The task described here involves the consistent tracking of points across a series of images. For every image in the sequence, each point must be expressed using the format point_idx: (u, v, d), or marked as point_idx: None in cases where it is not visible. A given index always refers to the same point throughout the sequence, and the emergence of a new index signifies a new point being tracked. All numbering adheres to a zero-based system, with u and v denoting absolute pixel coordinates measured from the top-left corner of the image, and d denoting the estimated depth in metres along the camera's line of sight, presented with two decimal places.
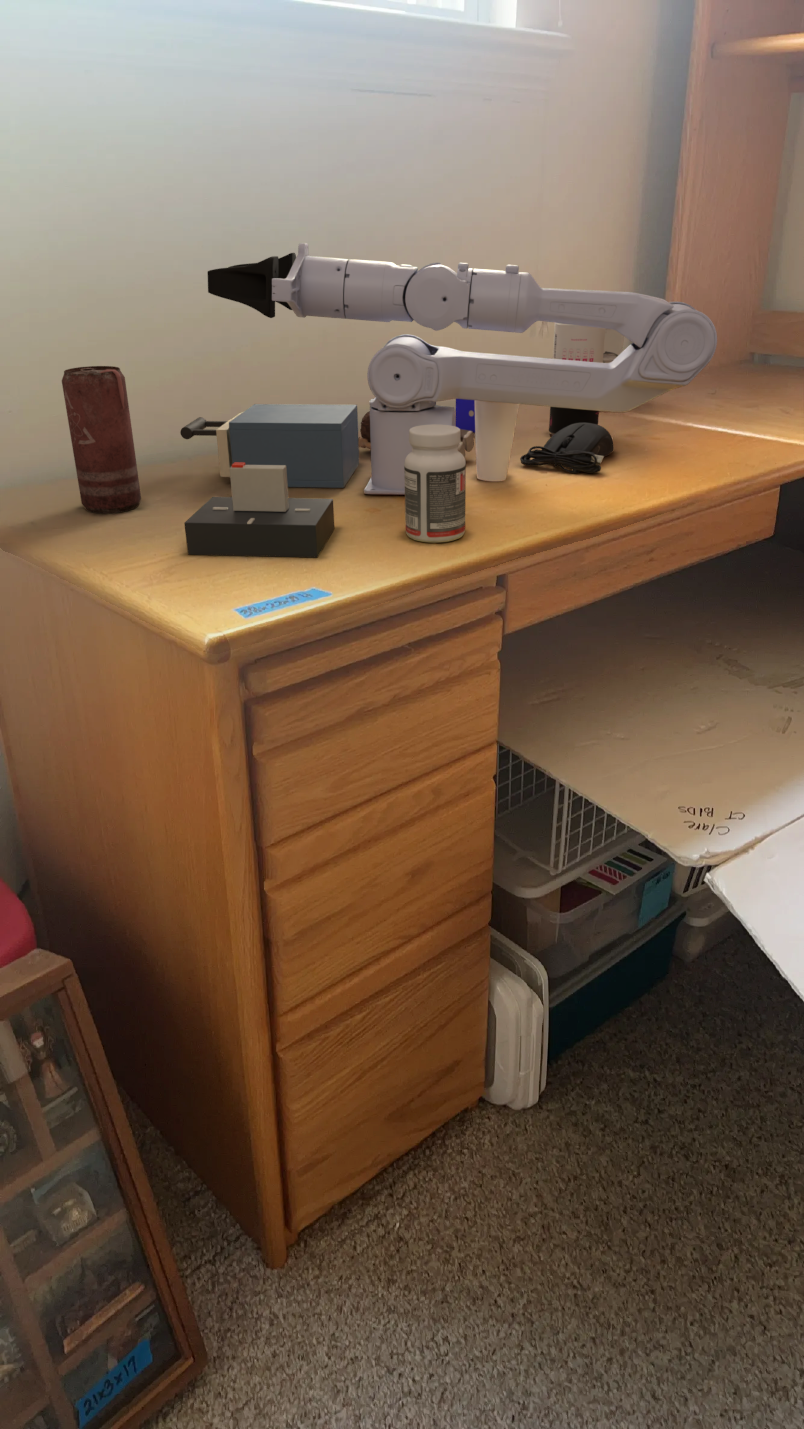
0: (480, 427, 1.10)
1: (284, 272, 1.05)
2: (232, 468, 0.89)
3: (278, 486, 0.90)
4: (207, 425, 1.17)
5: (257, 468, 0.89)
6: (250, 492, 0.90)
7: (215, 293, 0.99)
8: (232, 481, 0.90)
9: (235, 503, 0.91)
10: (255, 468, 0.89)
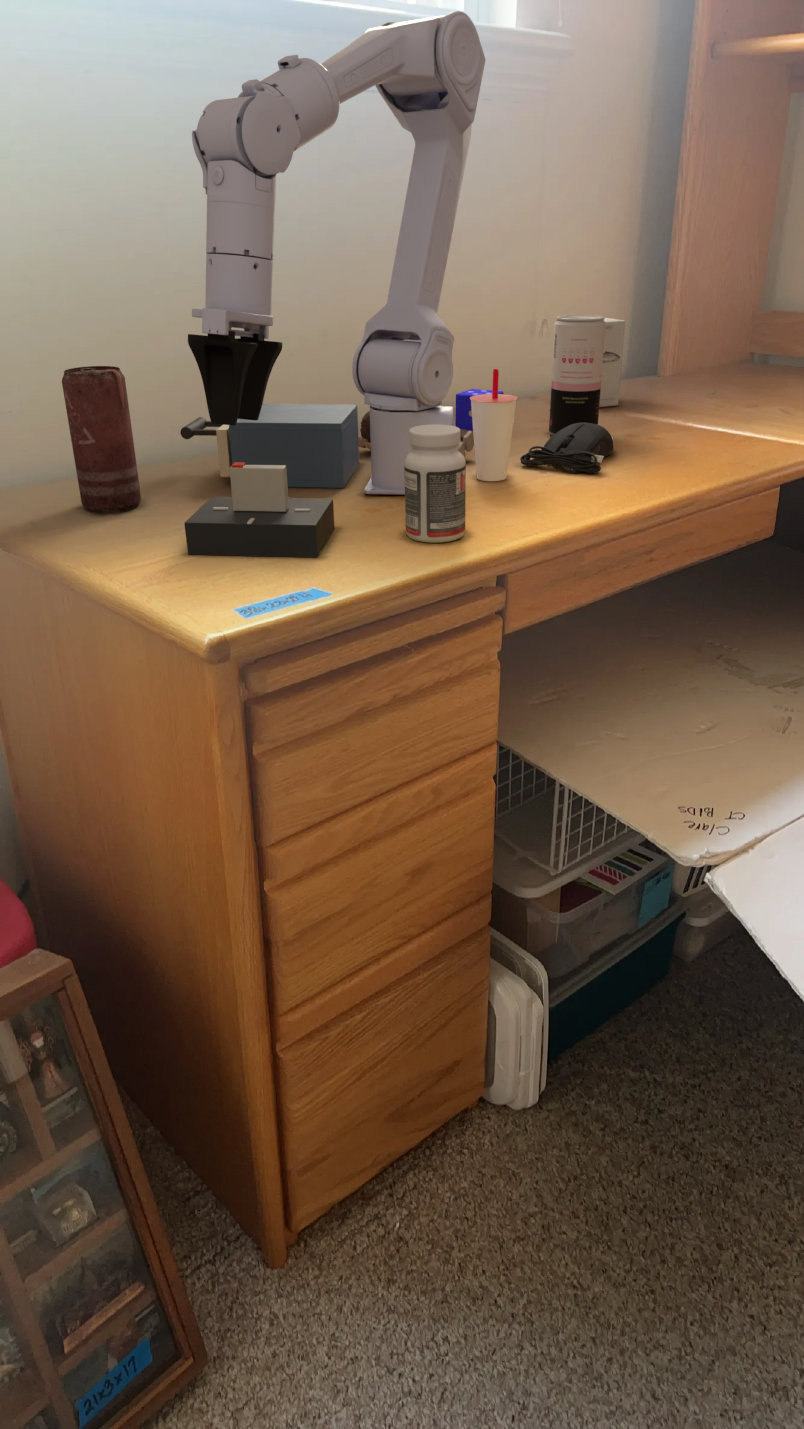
0: (478, 428, 1.10)
1: None
2: (232, 468, 0.89)
3: (278, 486, 0.90)
4: (207, 425, 1.17)
5: (257, 468, 0.89)
6: (250, 492, 0.90)
7: (233, 416, 0.85)
8: (232, 481, 0.90)
9: (235, 503, 0.91)
10: (255, 468, 0.89)
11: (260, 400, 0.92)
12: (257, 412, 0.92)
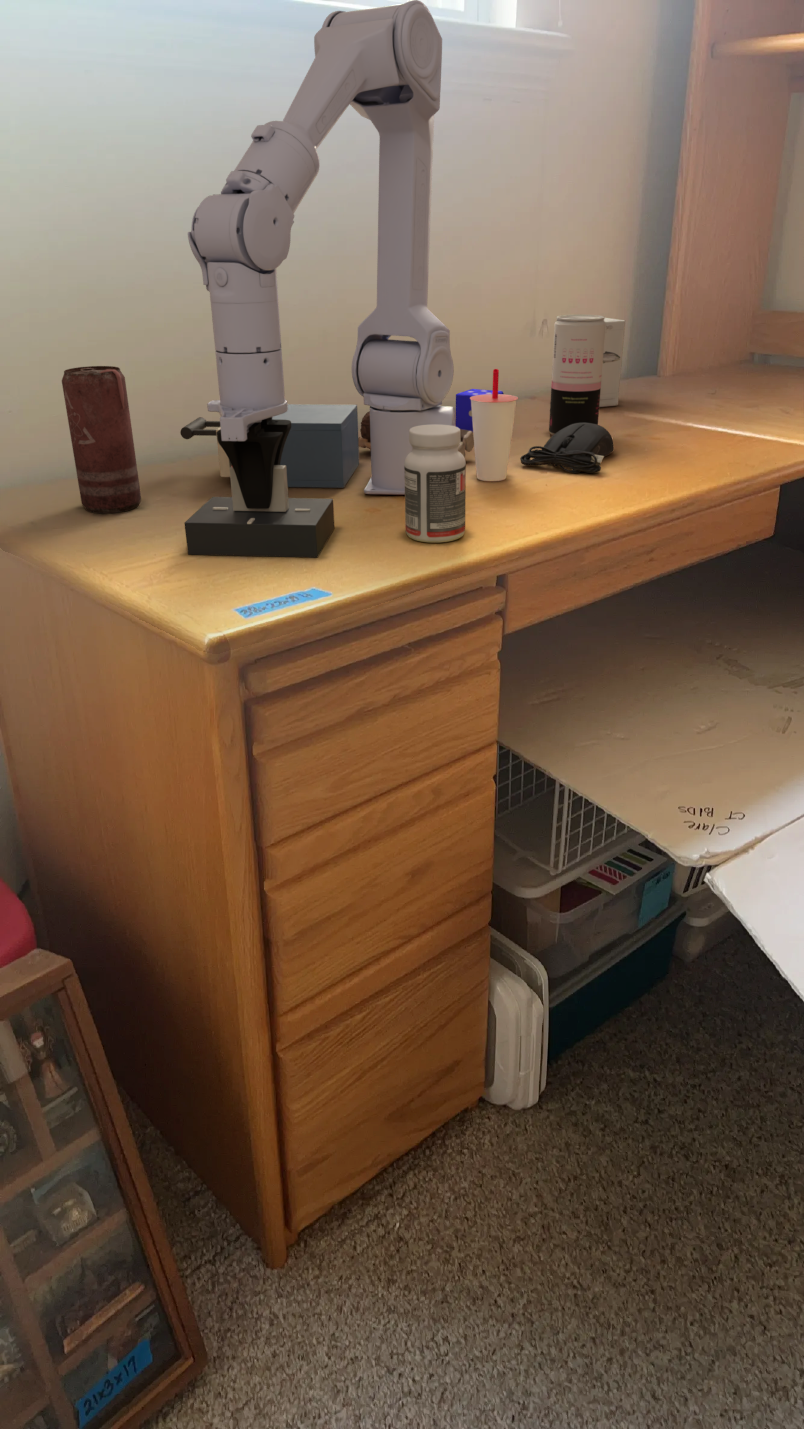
0: (478, 428, 1.10)
1: None
2: (232, 468, 0.89)
3: (278, 486, 0.90)
4: (207, 425, 1.17)
5: None
6: None
7: (267, 500, 0.90)
8: (232, 481, 0.90)
9: (235, 503, 0.91)
10: None
11: None
12: None
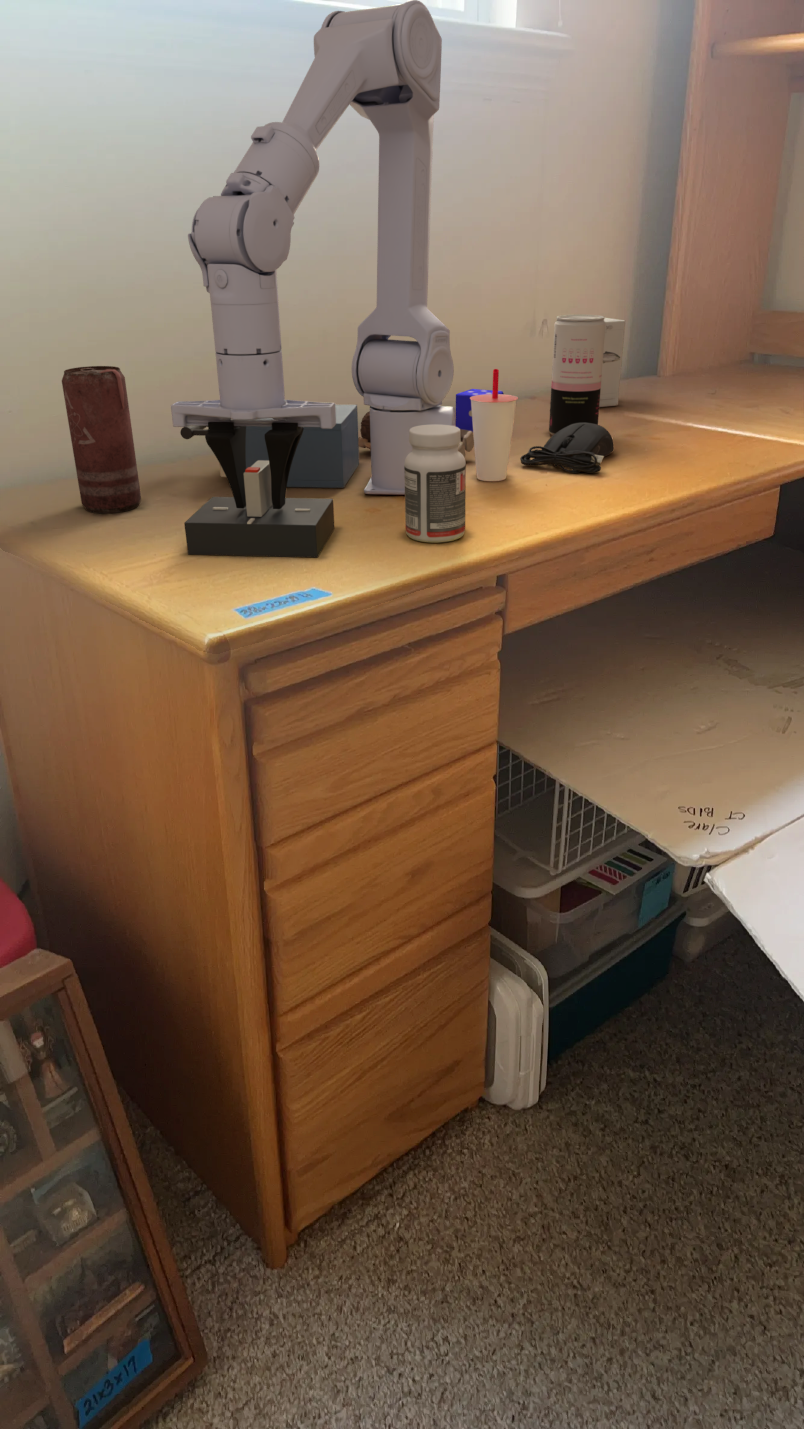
0: (478, 428, 1.10)
1: (236, 441, 0.88)
2: (258, 473, 0.88)
3: None
4: None
5: (264, 466, 0.90)
6: (265, 492, 0.90)
7: (285, 494, 0.92)
8: (260, 486, 0.88)
9: (262, 508, 0.89)
10: (264, 467, 0.90)
11: None
12: None
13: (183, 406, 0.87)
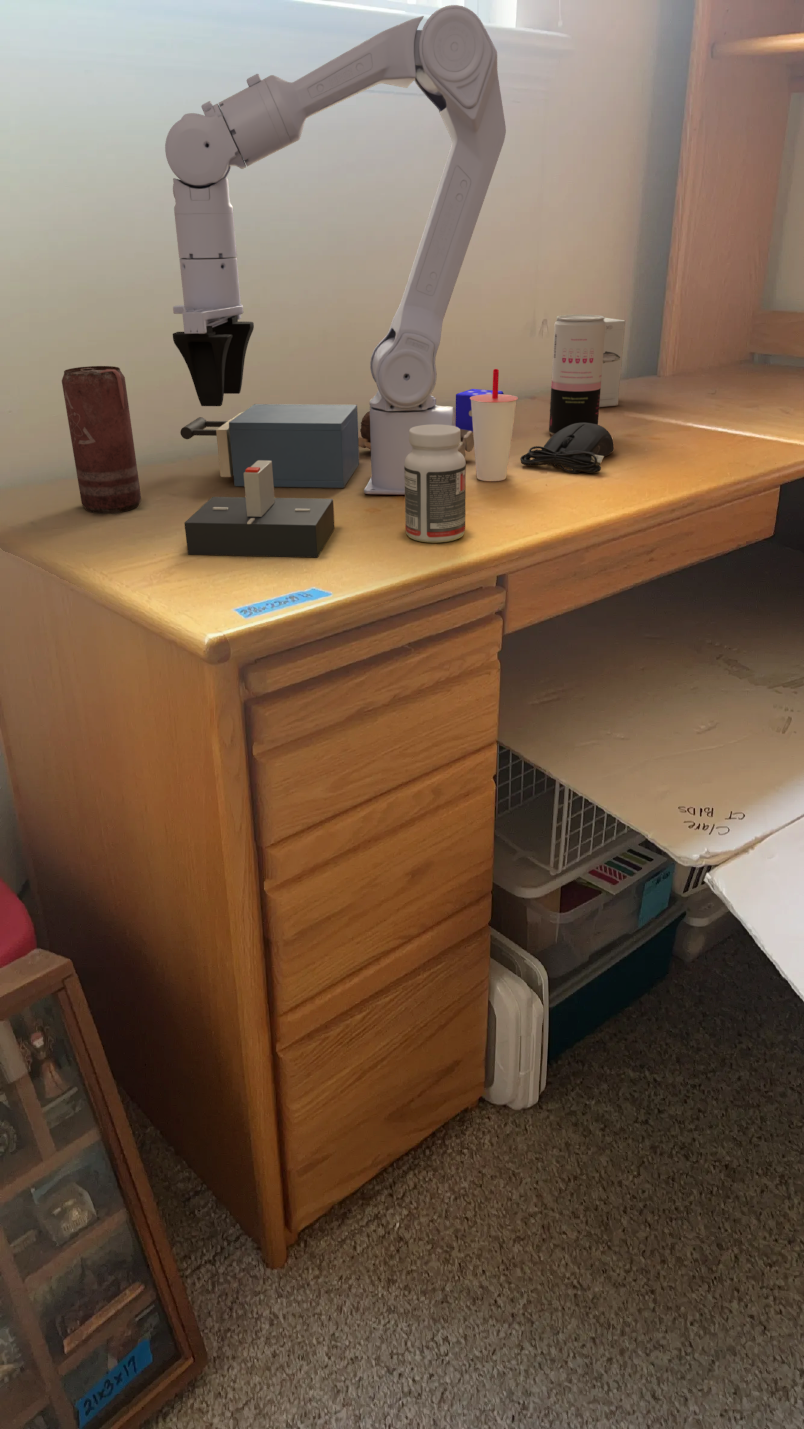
0: (478, 428, 1.10)
1: (217, 333, 1.05)
2: (258, 473, 0.88)
3: (271, 479, 0.92)
4: (207, 425, 1.17)
5: (264, 466, 0.90)
6: (265, 492, 0.90)
7: (219, 398, 1.00)
8: (260, 486, 0.88)
9: (262, 508, 0.89)
10: (264, 467, 0.90)
11: (240, 375, 1.06)
12: (239, 386, 1.07)
13: None
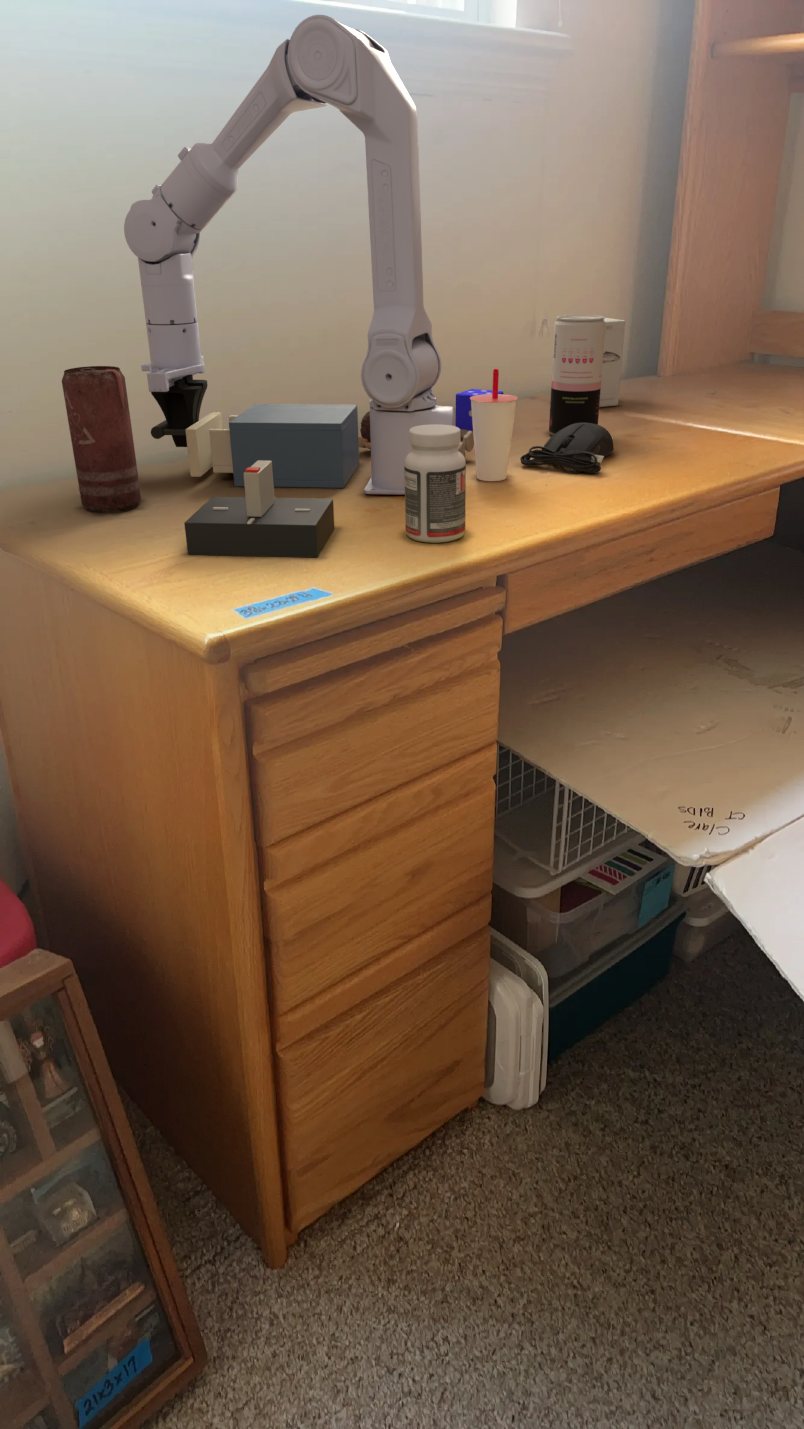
0: (478, 428, 1.10)
1: None
2: (258, 473, 0.88)
3: (271, 479, 0.92)
4: None
5: (264, 466, 0.90)
6: (265, 492, 0.90)
7: None
8: (260, 486, 0.88)
9: (262, 508, 0.89)
10: (264, 467, 0.90)
11: None
12: None
13: None
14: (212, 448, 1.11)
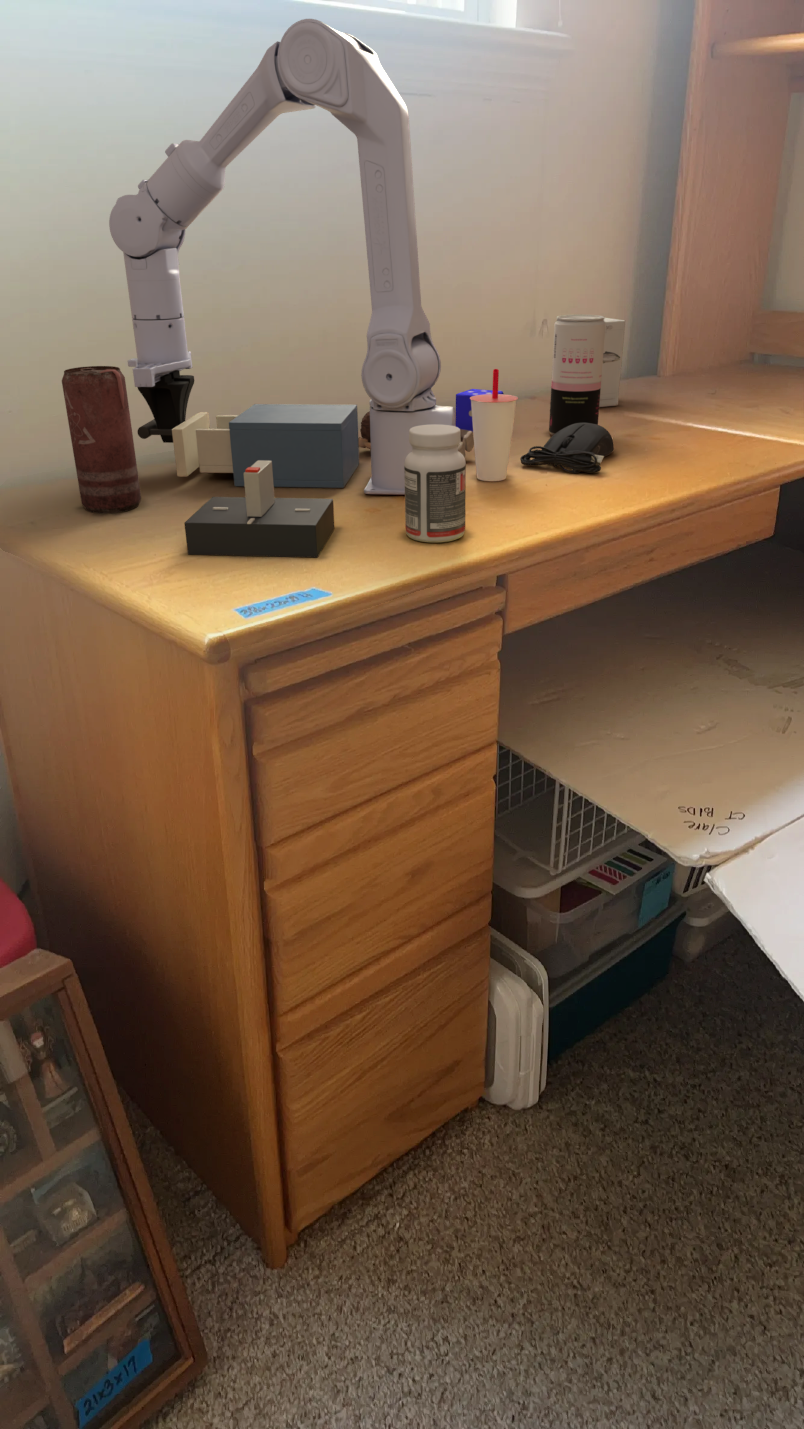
0: (478, 428, 1.10)
1: None
2: (258, 473, 0.88)
3: (271, 479, 0.92)
4: None
5: (264, 466, 0.90)
6: (265, 492, 0.90)
7: None
8: (260, 486, 0.88)
9: (262, 508, 0.89)
10: (264, 467, 0.90)
11: None
12: None
13: None
14: (198, 448, 1.11)
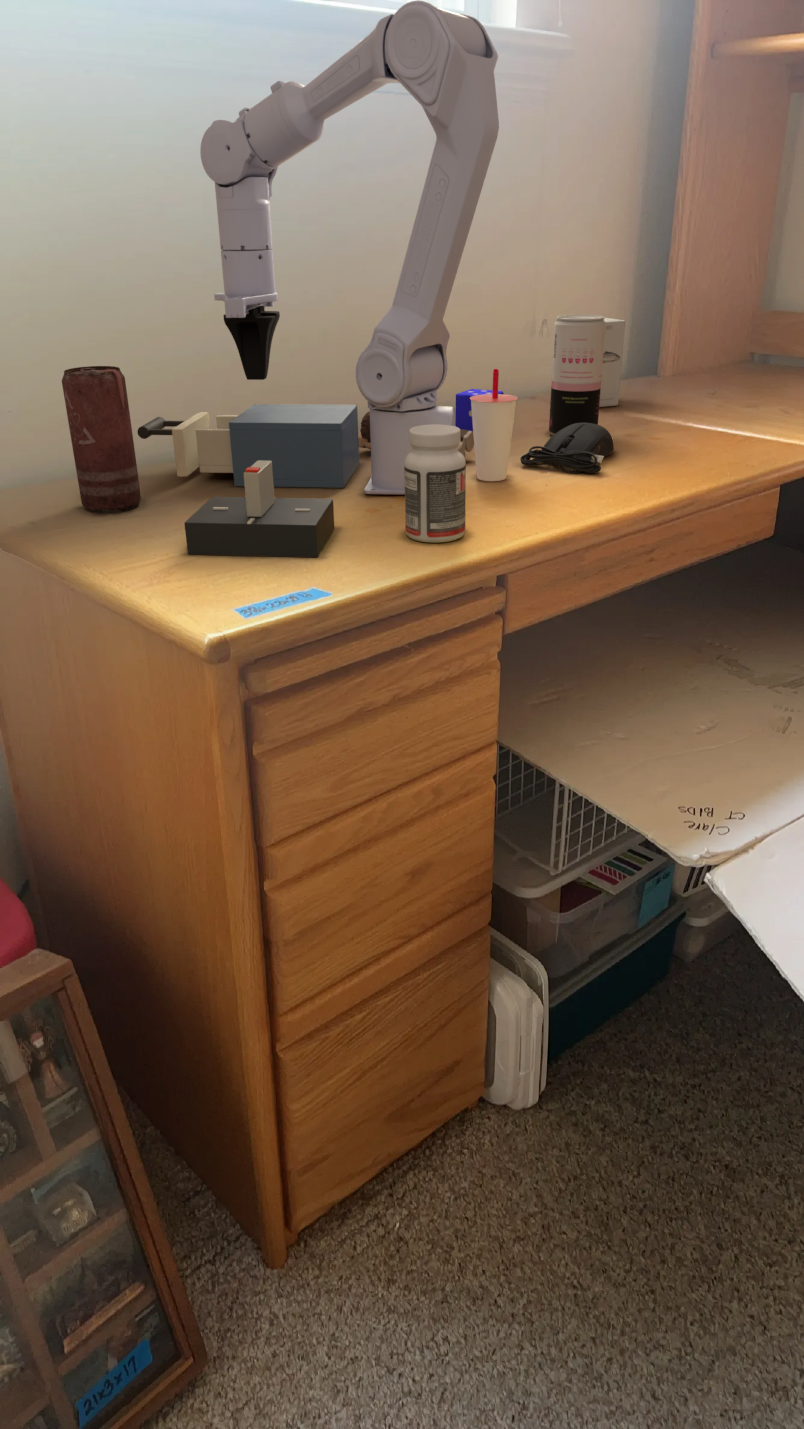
0: (478, 428, 1.10)
1: None
2: (258, 473, 0.88)
3: (271, 479, 0.92)
4: (166, 425, 1.17)
5: (264, 466, 0.90)
6: (265, 492, 0.90)
7: (263, 372, 1.13)
8: (260, 486, 0.88)
9: (262, 508, 0.89)
10: (264, 467, 0.90)
11: (267, 362, 1.14)
12: (265, 372, 1.14)
13: None
14: (198, 448, 1.11)
